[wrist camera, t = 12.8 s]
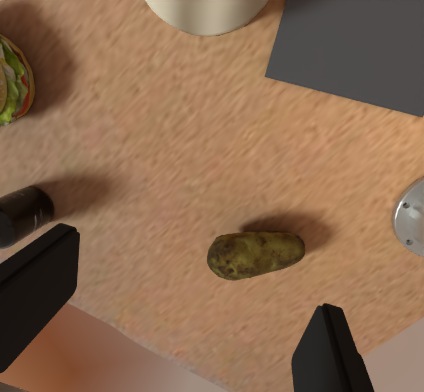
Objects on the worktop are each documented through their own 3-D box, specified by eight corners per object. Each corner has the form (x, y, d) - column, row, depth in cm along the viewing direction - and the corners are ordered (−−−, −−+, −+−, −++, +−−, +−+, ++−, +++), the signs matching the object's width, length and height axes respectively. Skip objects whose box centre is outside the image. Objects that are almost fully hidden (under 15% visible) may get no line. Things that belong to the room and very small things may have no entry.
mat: (524, -88, 27) (529, -91, 26) (420, 116, 34) (422, 117, 34) (323, -130, 28) (324, -133, 28) (264, 76, 35) (264, 76, 35)
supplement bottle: (62, 219, 48) (3, 260, 37) (29, 226, 50) (-37, 267, 39) (44, 181, 46) (-25, 212, 35) (10, 189, 48) (-65, 221, 37)
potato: (287, 275, 45) (292, 312, 38) (208, 249, 46) (198, 281, 38) (307, 230, 42) (317, 262, 35) (223, 204, 43) (214, 229, 35)
